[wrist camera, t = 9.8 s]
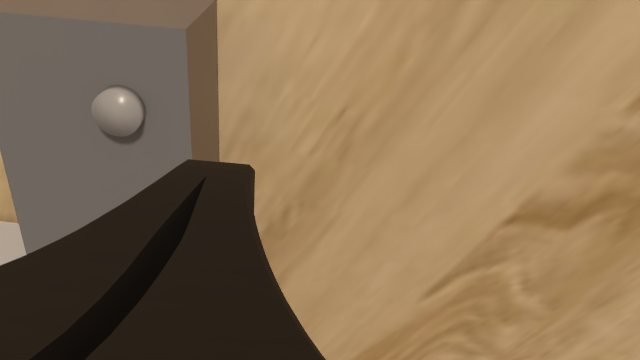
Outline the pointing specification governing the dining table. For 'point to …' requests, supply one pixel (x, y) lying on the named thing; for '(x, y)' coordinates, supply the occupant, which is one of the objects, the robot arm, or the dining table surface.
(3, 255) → the side door
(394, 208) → the dining table surface
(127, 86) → the camera case
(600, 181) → the dining table surface
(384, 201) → the dining table surface
